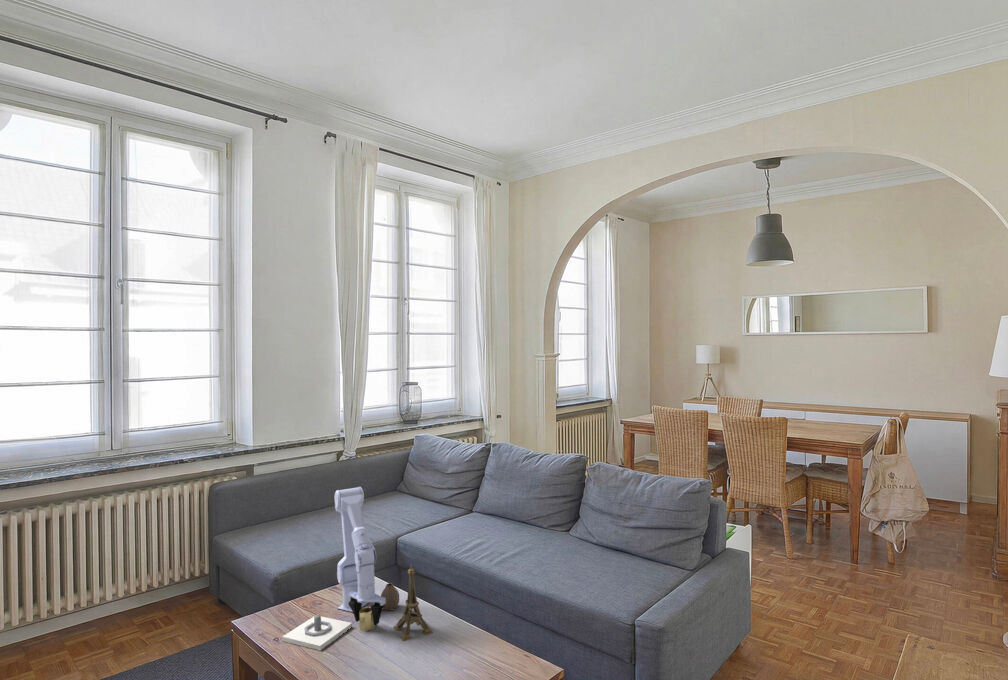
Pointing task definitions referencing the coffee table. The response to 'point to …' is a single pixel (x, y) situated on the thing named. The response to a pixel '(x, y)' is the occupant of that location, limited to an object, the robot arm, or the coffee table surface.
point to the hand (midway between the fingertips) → (367, 622)
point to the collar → (366, 619)
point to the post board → (317, 632)
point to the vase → (390, 597)
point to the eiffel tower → (411, 615)
